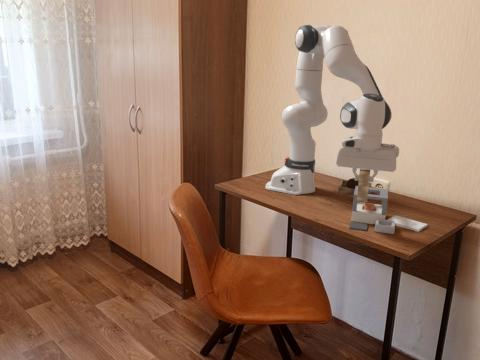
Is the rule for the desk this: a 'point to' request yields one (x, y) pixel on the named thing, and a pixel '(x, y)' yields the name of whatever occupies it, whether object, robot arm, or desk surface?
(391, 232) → the grey square tray
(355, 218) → the grey open box frame
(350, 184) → the dark brown rounded lump
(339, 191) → the watch tray
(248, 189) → the desk surface
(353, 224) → the pad
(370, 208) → the button
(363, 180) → the tan rectangular block
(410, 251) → the desk surface
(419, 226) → the external hard drive
